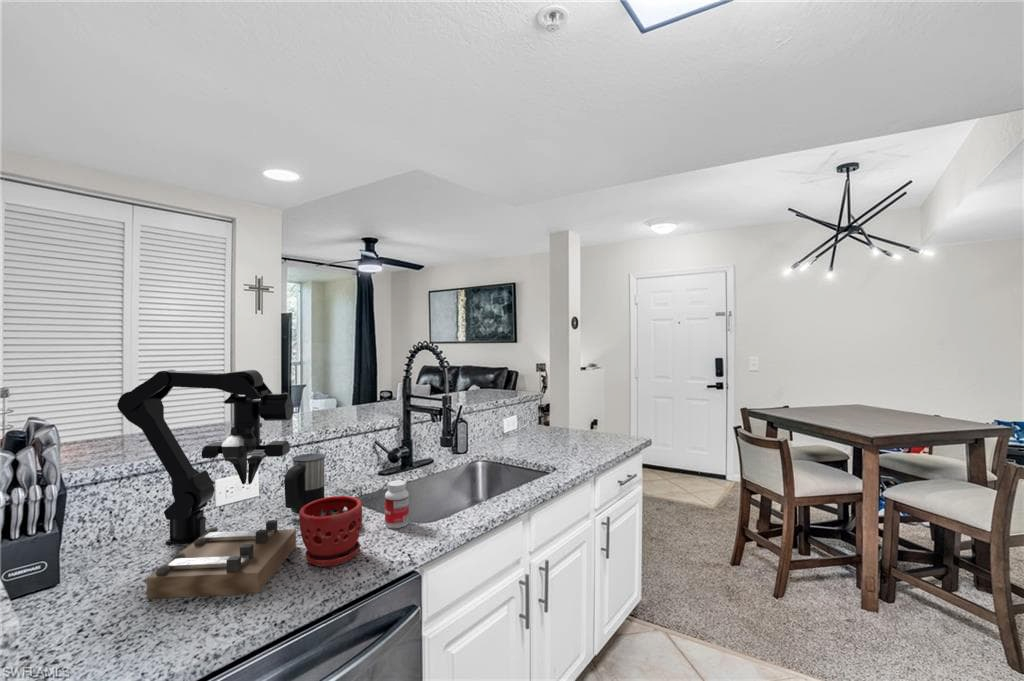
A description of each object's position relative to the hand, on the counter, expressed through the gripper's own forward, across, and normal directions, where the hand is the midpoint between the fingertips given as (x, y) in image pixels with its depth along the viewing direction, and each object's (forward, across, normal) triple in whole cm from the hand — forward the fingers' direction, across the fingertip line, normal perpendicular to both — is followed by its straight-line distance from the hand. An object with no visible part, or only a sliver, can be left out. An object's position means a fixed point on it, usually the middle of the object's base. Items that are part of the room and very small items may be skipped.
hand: (247, 483), depth 118 cm
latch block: (+13, +4, -18) cm, 22 cm away
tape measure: (+13, +23, +4) cm, 27 cm away
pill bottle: (+13, +36, +4) cm, 39 cm away
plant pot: (+13, +24, -14) cm, 31 cm away
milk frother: (+13, +12, +17) cm, 25 cm away
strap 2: (+9, +3, -11) cm, 14 cm away
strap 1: (+9, +3, -24) cm, 26 cm away
